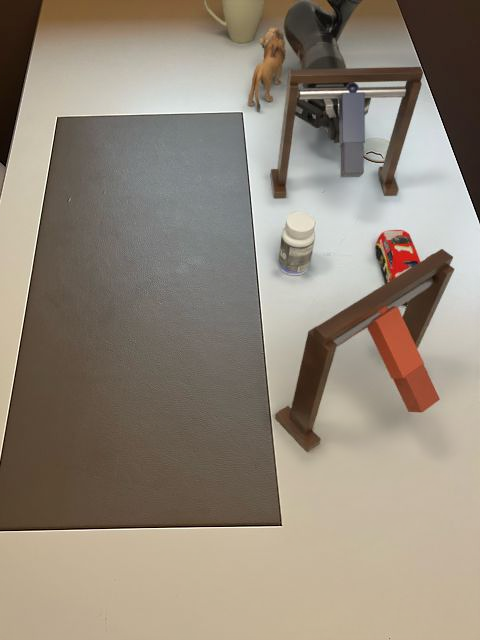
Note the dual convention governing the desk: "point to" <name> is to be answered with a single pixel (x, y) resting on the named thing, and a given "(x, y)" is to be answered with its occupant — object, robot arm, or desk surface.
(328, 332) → the near rack
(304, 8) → the robot arm
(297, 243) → the pill bottle
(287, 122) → the far rack
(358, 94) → the far pendulum
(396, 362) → the two-tone orange prism
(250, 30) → the mug
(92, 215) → the desk surface
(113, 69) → the desk surface
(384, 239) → the race car
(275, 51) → the lion figurine
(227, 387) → the desk surface
